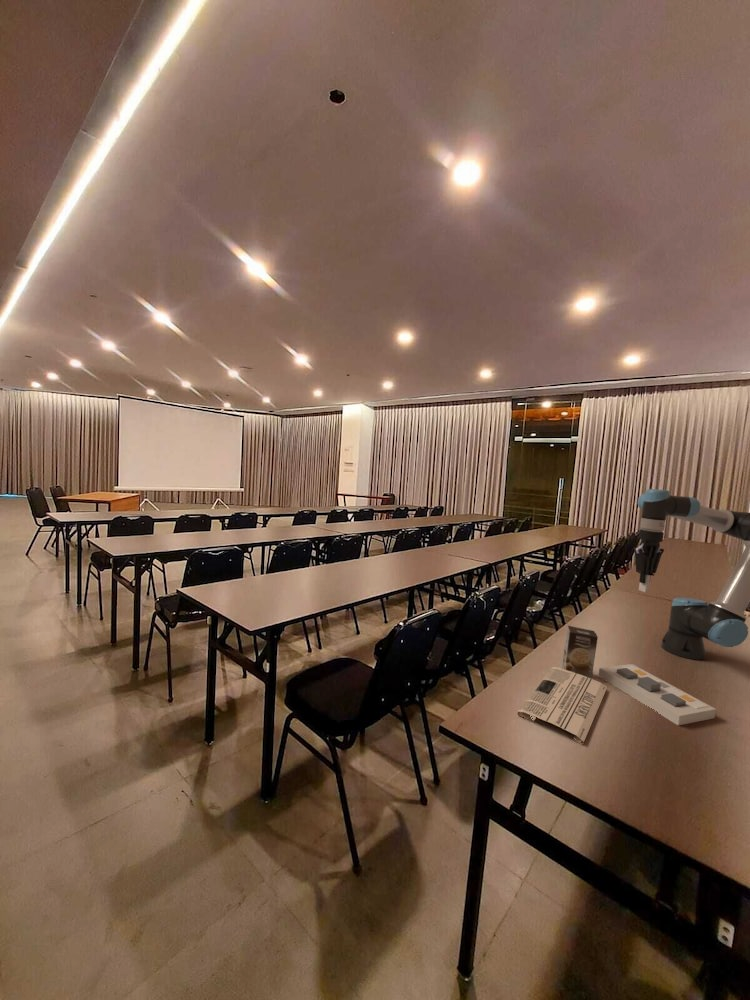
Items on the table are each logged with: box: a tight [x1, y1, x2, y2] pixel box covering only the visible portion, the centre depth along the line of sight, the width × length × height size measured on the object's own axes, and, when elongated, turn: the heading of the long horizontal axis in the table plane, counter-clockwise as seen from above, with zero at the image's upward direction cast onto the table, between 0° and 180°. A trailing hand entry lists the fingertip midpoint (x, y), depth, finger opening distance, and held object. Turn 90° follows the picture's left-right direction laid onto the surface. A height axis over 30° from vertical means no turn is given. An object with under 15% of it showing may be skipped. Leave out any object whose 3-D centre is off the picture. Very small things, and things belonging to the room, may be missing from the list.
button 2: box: [661, 693, 686, 707], centre depth 126 cm, size 4×4×3 cm
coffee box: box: [561, 625, 599, 679], centre depth 145 cm, size 9×6×16 cm
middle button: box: [638, 677, 661, 693], centre depth 133 cm, size 4×4×3 cm
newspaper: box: [516, 666, 608, 745], centre depth 126 cm, size 37×19×3 cm, turn 142°
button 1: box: [617, 668, 638, 679], centre depth 141 cm, size 4×4×3 cm
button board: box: [598, 663, 717, 726], centre depth 134 cm, size 16×28×3 cm, turn 19°
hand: (643, 591), depth 153 cm, fingers closed
